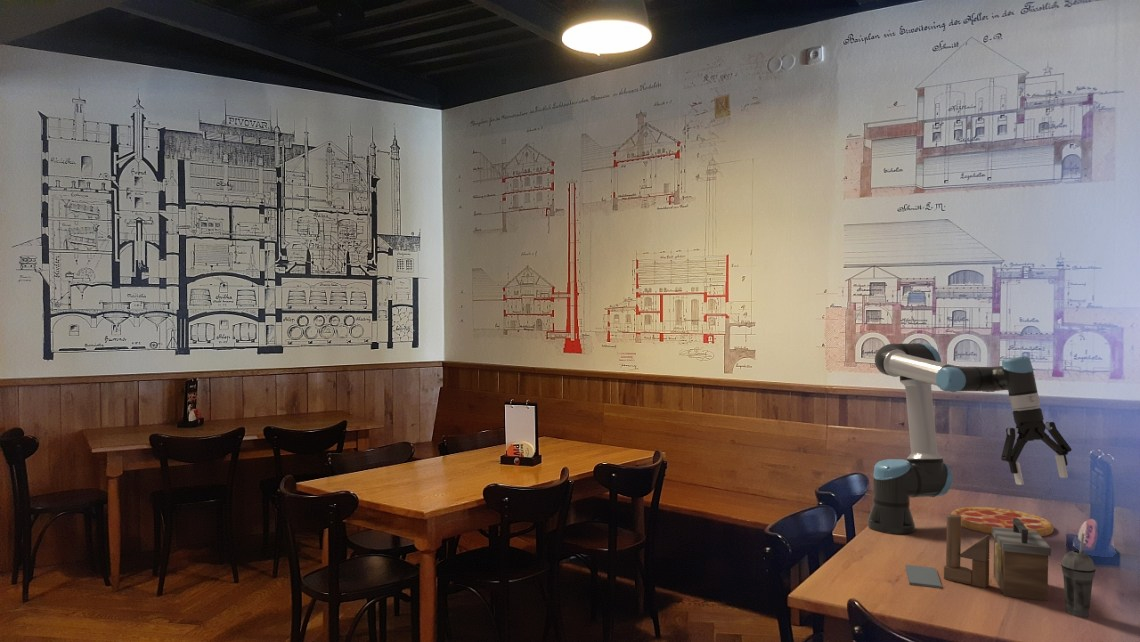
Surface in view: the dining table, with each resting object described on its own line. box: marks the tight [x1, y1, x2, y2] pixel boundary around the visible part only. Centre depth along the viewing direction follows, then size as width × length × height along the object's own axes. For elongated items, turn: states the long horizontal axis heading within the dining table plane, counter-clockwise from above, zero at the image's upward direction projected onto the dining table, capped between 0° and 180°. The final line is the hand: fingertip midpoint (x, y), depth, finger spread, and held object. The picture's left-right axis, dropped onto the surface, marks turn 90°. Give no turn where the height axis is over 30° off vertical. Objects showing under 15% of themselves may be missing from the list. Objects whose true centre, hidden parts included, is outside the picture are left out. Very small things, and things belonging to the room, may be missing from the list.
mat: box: [905, 564, 943, 589], centre depth 217 cm, size 16×8×1 cm, turn 160°
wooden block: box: [943, 513, 991, 589], centre depth 213 cm, size 4×11×18 cm, turn 49°
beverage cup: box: [1060, 533, 1096, 618], centre depth 191 cm, size 7×7×20 cm
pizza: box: [950, 506, 1055, 538], centre depth 273 cm, size 32×32×3 cm
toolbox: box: [991, 518, 1052, 602], centre depth 209 cm, size 17×11×18 cm, turn 160°
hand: (1042, 481), depth 225 cm, fingers open, 13 cm apart
